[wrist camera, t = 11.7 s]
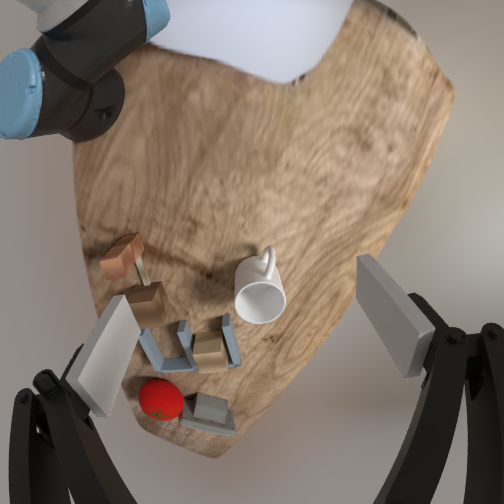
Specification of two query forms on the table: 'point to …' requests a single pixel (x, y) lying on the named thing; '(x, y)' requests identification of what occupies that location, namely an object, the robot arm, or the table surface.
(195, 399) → the digital clock
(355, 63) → the table surface
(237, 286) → the cup
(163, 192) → the table surface
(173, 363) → the lane shelf
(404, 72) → the table surface
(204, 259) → the table surface
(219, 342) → the oak block
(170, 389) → the tomato
